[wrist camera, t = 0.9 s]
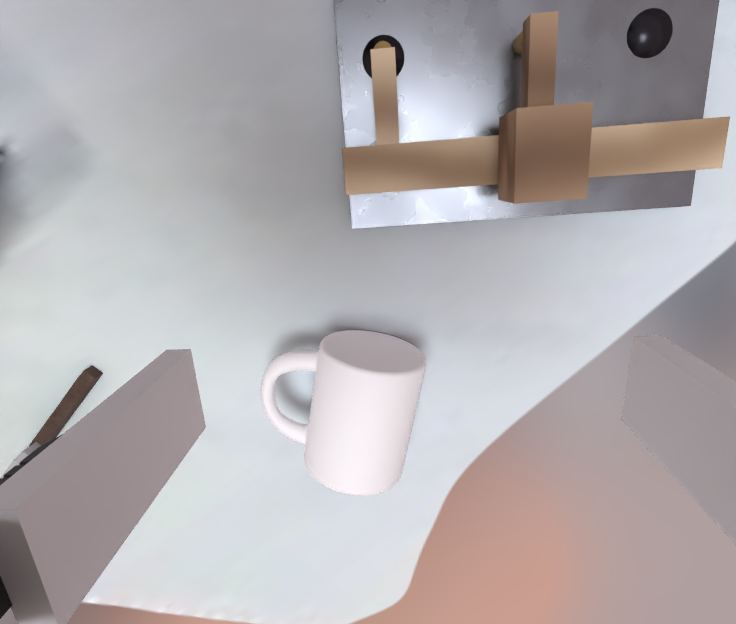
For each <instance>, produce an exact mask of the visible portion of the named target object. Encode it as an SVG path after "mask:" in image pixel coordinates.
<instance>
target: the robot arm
mask: <svg viewBox="0 0 736 624" xmlns="http://www.w3.org/2000/svg"><path fill="white" fill-rule="evenodd" d="M621 420H622V421H623V422H624V423H625V425H626V426H627V427H628V428H629V429H630V430H631V431H632V432H633V433H634V434H635V435H636V436H637V438H638V439H639V440H640V441H641V442H642V443H643V444H644V445H645V446H646V447H647V449H649V451H650V452H651V453H652V454H653V455H654V456H655V457H656V458H657V459H658V460H659V462H660V463H661V464H662V465H663V466H664V467H665V468H666V469H667V470H668V471H669V472H670V474H672V476H673V477H674V478H675V479H676V480H677V481H678V482H679V483H680V484H681V486H682V487H683V488H684V489H685V490H686V491H687V492H688V493H689V494H690V495H691V497H693V499H694V500H695V501H696V502H697V503H698V504H699V505H700V506H701V507H702V508H703V510H704V511H705V512H706V513H707V514H708V515H709V516H710V517H711V518H712V519H713V521H714V522H715V523H716V524H717V525H718V526H719V527H720V528H721V529H722V530H723V531H724V533H725V534H726V535H727V536H728V537H729V538H730V539H731V540H732V541H733V542H734V543H735V544H736V382H735V381H734V380H732V379H730V378H729V377H727V376H726V375H724V374H722V373H721V372H719V371H717V370H716V369H714V368H713V367H711V366H709V365H708V364H706V363H705V362H703V361H701V360H700V359H698V358H697V357H695V356H693V355H692V354H690V353H688V352H687V351H685V350H684V349H682V348H680V347H679V346H677V345H676V344H674V343H672V342H671V341H669V340H667V339H666V338H664V337H663V336H661V335H658V336H633V342H632V349H631V355H630V362H629V369H628V376H627V383H626V390H625V396H624V404H623V410H622V418H621ZM205 427H206V426H205V421H204V416H203V411H202V406H201V400H200V395H199V390H198V385H197V379H196V374H195V369H194V364H193V359H192V353H191V349H182V350H166V351H165V352H163V353H162V354H161V355H160V356H159V357H157V358H156V359H155V360H154V361H152V362H151V363H150V364H149V365H147V366H146V367H145V368H144V369H143V370H141V371H140V372H139V373H138V374H136V375H135V376H134V377H133V378H131V379H130V380H129V381H128V382H127V383H125V384H124V385H123V386H122V387H120V388H119V389H118V390H117V391H116V392H114V393H113V394H112V395H111V396H109V397H108V398H107V399H106V400H104V401H103V402H102V403H101V404H100V405H98V406H97V407H96V408H95V409H93V410H92V411H91V412H90V413H89V414H87V415H86V416H85V417H84V418H82V419H81V420H80V421H79V422H77V423H76V424H75V425H74V426H73V427H71V428H70V429H69V430H68V431H66V432H65V433H64V434H62V435H60V436H59V437H57V438H55V439H53V440H51V441H49V442H47V443H46V444H44V445H42V446H40V447H38V448H37V449H36V450H34V451H33V452H32V453H31V454H29V455H28V456H27V457H26V458H24V459H23V460H22V461H21V462H20V464H19V465H16V466H14V467H13V468H12V469H11V470H9V471H8V472H7V473H5V474H4V477H3V478H0V619H1V617H2V616H3V615H4V614H5V613H6V612H7V610H8V609H9V608H10V607H11V609H12V611H13V613H14V616H15V618H16V621H17V623H18V624H66V623H67V621H68V620H69V619H70V617H71V616H72V614H73V613H74V611H75V610H76V609H77V607H78V606H79V604H80V603H81V602H82V600H83V599H84V597H85V596H86V595H87V593H88V592H89V590H90V589H91V588H92V586H93V585H94V583H95V582H96V581H97V579H98V578H99V576H100V575H101V574H102V572H103V571H104V569H105V568H106V567H107V565H108V564H109V562H110V561H111V560H112V558H113V557H114V555H115V554H116V553H117V551H118V550H119V548H120V547H121V545H122V544H123V543H124V541H125V540H126V538H127V537H128V536H129V534H130V533H131V531H132V530H133V529H134V527H135V526H136V524H137V523H138V522H139V520H140V519H141V517H142V516H143V515H144V513H145V512H146V510H147V509H148V508H149V506H150V505H151V503H152V502H153V501H154V499H155V498H156V496H157V495H158V493H159V492H160V491H161V489H162V488H163V486H164V485H165V484H166V482H167V481H168V479H169V478H170V477H171V475H172V474H173V472H174V471H175V470H176V468H177V467H178V465H179V464H180V463H181V461H182V460H183V458H184V457H185V456H186V454H187V453H188V451H189V450H190V449H191V447H192V446H193V444H194V443H195V441H196V440H197V439H198V437H199V436H200V434H201V433H202V432H203V430H204V429H205Z"/></svg>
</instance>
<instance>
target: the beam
mask: <svg viewBox="0 0 736 624" xmlns="http://www.w3.org/2000/svg"><path fill="white" fill-rule="evenodd" d="M370 51H371V67H372V83H373V99H374V115H375V132H376V145H371V146H358V147H346V148H342V154H343V166H344V178H345V190H346V195H356V194H370V193H384V192H398V191H411V190H425V189H439V188H453V187H466V186H480V185H494V184H498V166H499V135H495V136H483V137H470V138H458V139H445V140H433V141H420V142H408V143H399V122H398V101H397V80H396V60H395V47H391V45H390V44H389V43H388V42H386V41H380V42H378V43H377V44H376V45H375V47H374V49H370ZM729 119H730V117H719V118H706V119H694V120H681V121H669V122H657V123H644V124H632V125H619V126H607V127H594V128H592V132H591V146H590V160H589V174H588V178H590V177H604V176H618V175H631V174H645V173H659V172H673V171H686V170H700V169H714V168H722V164H723V158H724V152H725V145H726V139H727V132H728V126H729Z"/></svg>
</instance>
